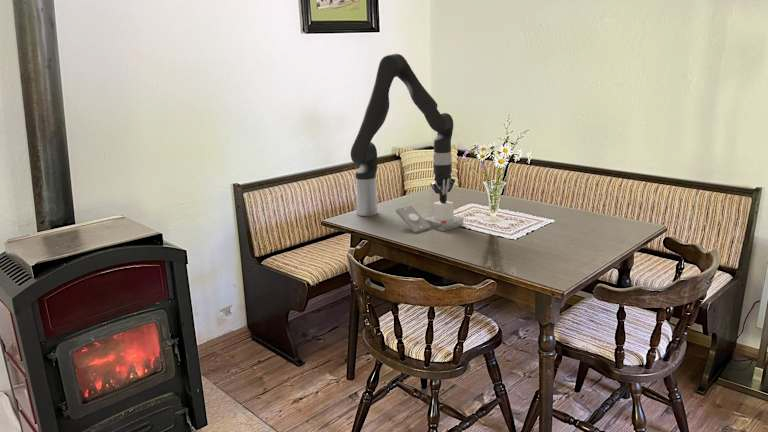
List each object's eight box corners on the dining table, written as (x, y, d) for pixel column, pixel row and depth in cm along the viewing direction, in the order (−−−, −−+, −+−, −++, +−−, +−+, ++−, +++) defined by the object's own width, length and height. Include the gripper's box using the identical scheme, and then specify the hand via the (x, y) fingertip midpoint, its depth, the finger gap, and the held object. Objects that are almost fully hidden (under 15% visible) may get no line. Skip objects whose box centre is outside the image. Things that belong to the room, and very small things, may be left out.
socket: (423, 225, 251) (423, 217, 250) (443, 219, 258) (443, 211, 257) (443, 231, 242) (443, 223, 241) (463, 225, 249) (463, 217, 248)
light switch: (416, 229, 240) (396, 207, 248) (412, 240, 244) (392, 217, 252) (431, 225, 245) (411, 203, 253) (427, 235, 248) (408, 213, 256)
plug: (433, 222, 250) (433, 202, 247) (443, 219, 253) (443, 200, 251) (443, 224, 245) (443, 205, 243) (453, 221, 249) (453, 202, 246)
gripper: (447, 158, 249) (448, 198, 254) (424, 163, 241) (425, 204, 246) (460, 161, 243) (460, 201, 248) (437, 166, 235) (438, 207, 240)
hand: (443, 202), depth 247 cm, fingers closed
